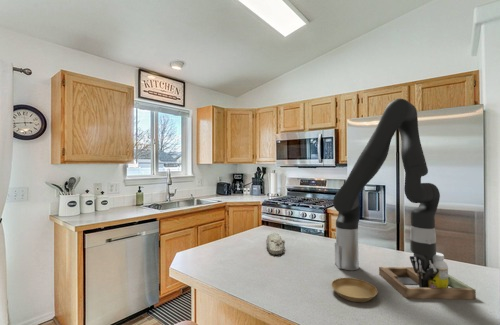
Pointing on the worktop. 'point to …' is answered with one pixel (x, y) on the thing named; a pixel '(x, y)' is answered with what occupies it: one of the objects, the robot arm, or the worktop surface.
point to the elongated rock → (275, 244)
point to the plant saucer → (354, 289)
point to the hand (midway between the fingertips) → (423, 288)
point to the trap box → (408, 276)
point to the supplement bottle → (439, 273)
